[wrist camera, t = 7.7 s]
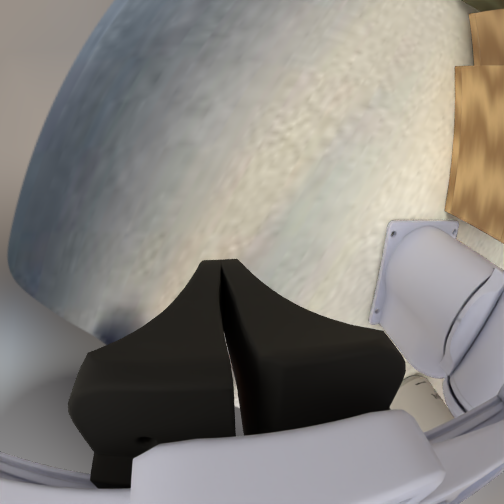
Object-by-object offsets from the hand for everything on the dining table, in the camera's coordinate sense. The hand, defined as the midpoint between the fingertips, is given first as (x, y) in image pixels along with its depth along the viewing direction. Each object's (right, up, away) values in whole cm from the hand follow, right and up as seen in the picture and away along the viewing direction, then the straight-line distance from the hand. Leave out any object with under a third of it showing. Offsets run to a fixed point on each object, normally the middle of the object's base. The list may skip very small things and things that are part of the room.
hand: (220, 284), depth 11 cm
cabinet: (+23, +11, +9) cm, 27 cm away
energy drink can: (+20, -16, +21) cm, 33 cm away
